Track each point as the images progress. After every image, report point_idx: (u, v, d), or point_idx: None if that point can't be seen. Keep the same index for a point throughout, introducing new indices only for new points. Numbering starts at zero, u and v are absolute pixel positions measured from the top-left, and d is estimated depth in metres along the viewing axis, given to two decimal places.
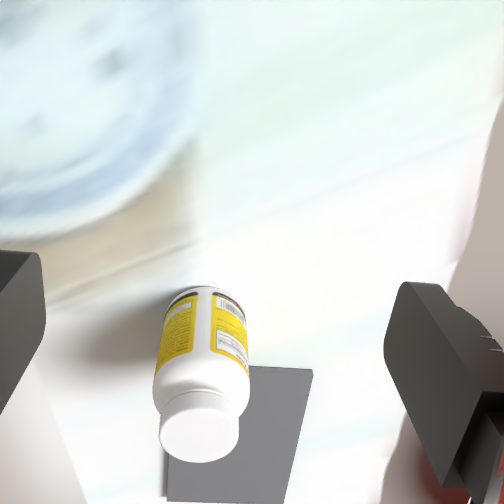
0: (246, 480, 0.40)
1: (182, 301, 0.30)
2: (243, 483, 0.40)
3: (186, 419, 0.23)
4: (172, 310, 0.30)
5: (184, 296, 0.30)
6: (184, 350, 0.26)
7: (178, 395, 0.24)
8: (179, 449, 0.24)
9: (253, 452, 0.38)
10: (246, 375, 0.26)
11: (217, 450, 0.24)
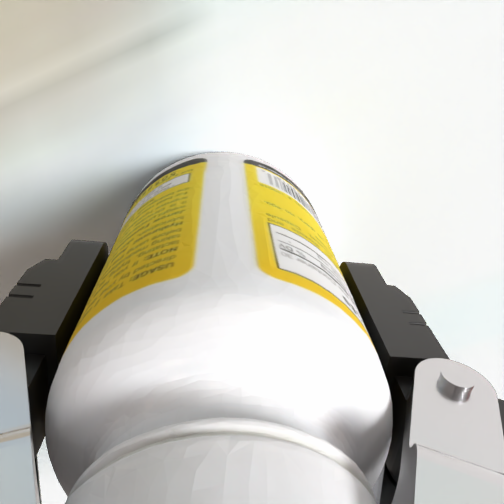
0: None
1: (164, 178, 0.11)
2: None
3: None
4: (138, 201, 0.11)
5: (170, 169, 0.12)
6: (161, 272, 0.07)
7: (125, 452, 0.05)
8: None
9: None
10: (382, 368, 0.07)
11: None
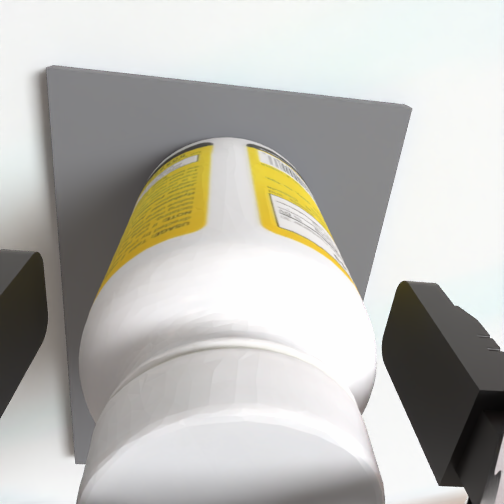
0: None
1: (175, 159, 0.12)
2: None
3: (185, 458, 0.05)
4: (151, 180, 0.12)
5: (179, 152, 0.13)
6: (178, 229, 0.08)
7: (155, 364, 0.06)
8: None
9: None
10: (367, 315, 0.09)
11: None
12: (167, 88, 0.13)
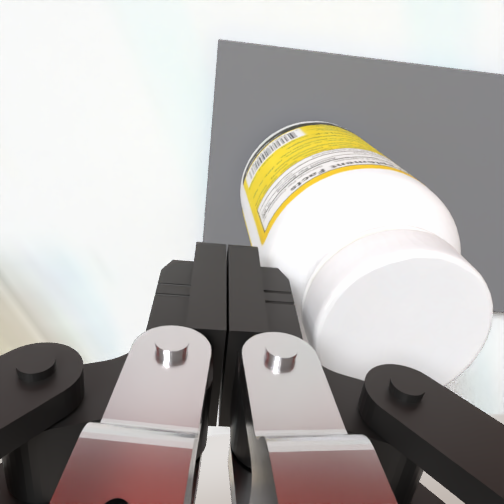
0: None
1: None
2: None
3: (343, 359, 0.10)
4: None
5: None
6: None
7: None
8: (434, 370, 0.11)
9: (426, 158, 0.19)
10: (331, 177, 0.12)
11: (458, 297, 0.10)
12: (208, 221, 0.20)
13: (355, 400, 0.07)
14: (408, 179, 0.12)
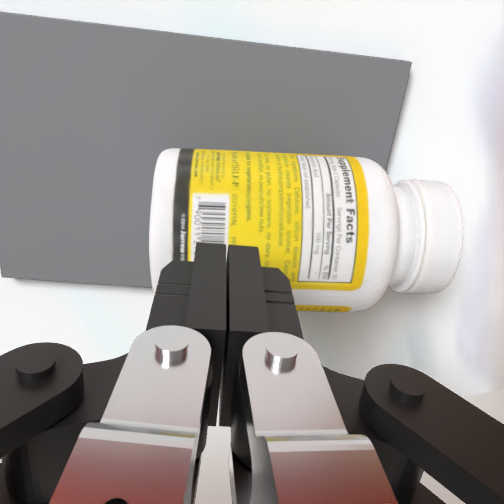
0: (309, 152, 0.18)
1: None
2: None
3: None
4: None
5: None
6: (341, 310, 0.16)
7: (402, 291, 0.17)
8: None
9: (218, 137, 0.18)
10: (372, 209, 0.14)
11: None
12: None
13: (356, 400, 0.07)
14: (372, 165, 0.15)
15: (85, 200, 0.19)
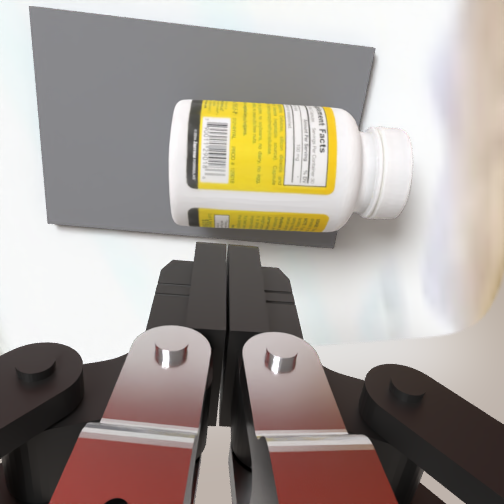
0: None
1: (204, 222, 0.20)
2: None
3: None
4: (212, 227, 0.21)
5: (192, 221, 0.20)
6: (321, 221, 0.20)
7: (371, 214, 0.21)
8: None
9: None
10: (339, 130, 0.19)
11: None
12: (46, 163, 0.23)
13: (356, 400, 0.07)
14: (339, 108, 0.20)
15: (116, 160, 0.23)
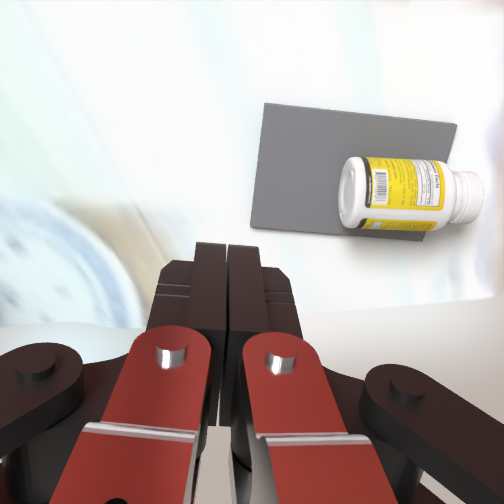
0: None
1: (366, 226, 0.35)
2: None
3: None
4: (367, 228, 0.36)
5: (360, 225, 0.35)
6: (432, 225, 0.35)
7: (457, 221, 0.36)
8: None
9: None
10: (445, 175, 0.34)
11: None
12: (256, 191, 0.39)
13: (355, 400, 0.07)
14: None
15: (298, 188, 0.39)
